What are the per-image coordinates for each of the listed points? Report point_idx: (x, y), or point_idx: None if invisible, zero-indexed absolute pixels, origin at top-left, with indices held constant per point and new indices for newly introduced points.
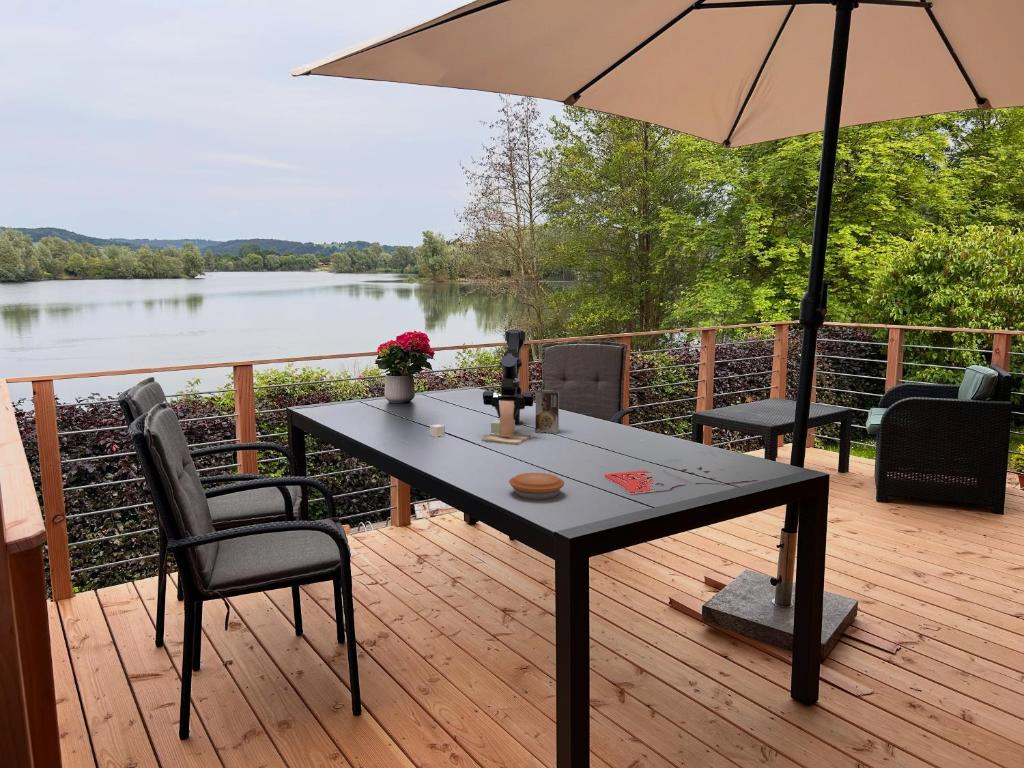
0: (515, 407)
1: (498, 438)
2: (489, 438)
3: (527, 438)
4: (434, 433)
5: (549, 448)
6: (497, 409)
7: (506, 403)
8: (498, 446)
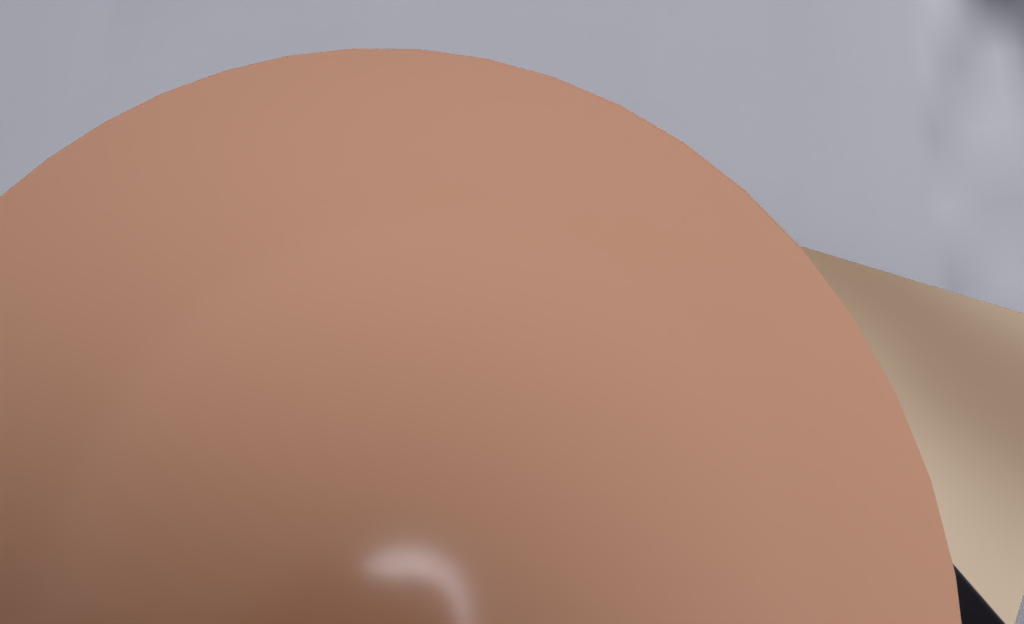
0: None
1: None
2: (944, 427)
3: None
4: None
5: (49, 20)
6: (969, 610)
7: (413, 103)
8: (732, 20)
